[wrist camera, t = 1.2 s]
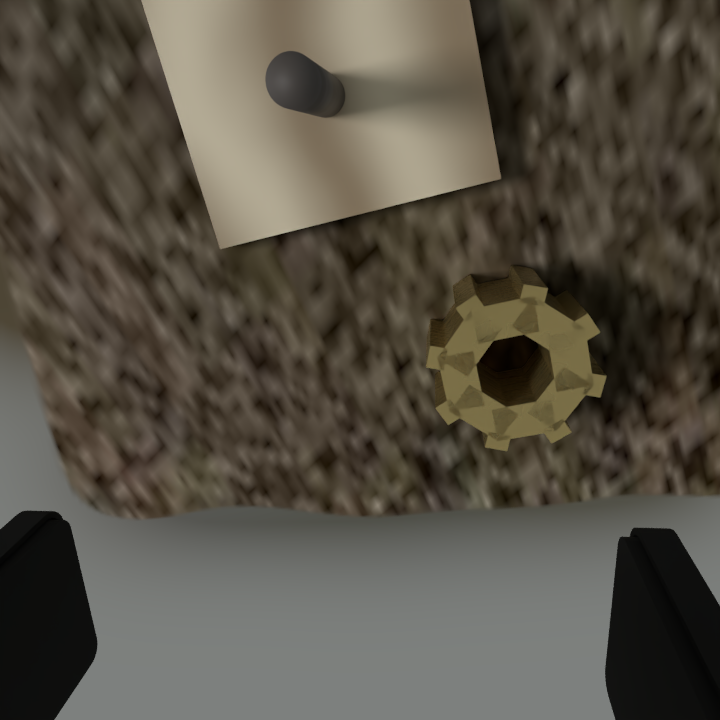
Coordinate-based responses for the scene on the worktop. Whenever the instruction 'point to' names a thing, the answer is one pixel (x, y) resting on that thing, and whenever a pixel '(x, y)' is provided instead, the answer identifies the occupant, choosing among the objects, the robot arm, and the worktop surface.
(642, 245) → the worktop surface
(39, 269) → the worktop surface
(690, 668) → the robot arm
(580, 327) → the brass gear
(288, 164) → the gear board
